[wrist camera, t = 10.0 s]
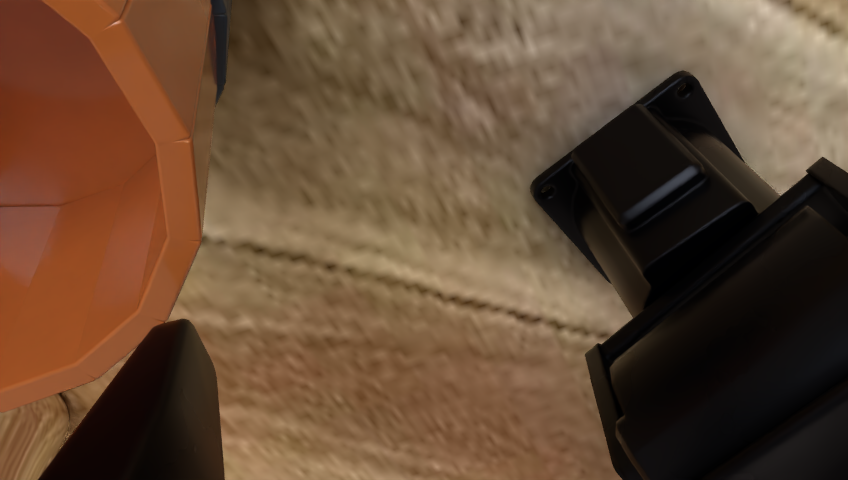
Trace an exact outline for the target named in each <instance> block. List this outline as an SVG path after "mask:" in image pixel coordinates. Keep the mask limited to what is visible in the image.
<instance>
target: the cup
mask: <svg viewBox="0 0 848 480" xmlns="http://www.w3.org/2000/svg"><path fill="white" fill-rule="evenodd" d="M216 93H217V69H216V30H215V23H214V16H213V9H212V5H211V1H210V0H0V412H1V413H4V412H7V411H10V410H13V409H16V408H18V407H21V406H24V405H27V404H30V403H33V402H35V401H38V400H41V399H44V398H47V397H50V396H53V395H55V394H58V393H61V392H64V391H67V390H70V389H72V388H75V387H78V386H81V385H84V384H87V383H90V382H92V381H94V380H95V379H98V378H100V377H101V376H102V375H103V374H104V373H106V372H107V371H108V370H109V369H110V368H112V367H113V366H114V365H115V364H117V363H118V362H119V361H120V360H121V359H123V358H124V357H125V356H126V355H127V354H129V353H130V352H131V351H132V350H133V349H135V348H136V347H137V346H138V345H139V344H140V343H141V342H142V340H143V339H144V338H145V336H146V335H147V334H148V332H149V331H150V330H151V329H152V328H153V327H154V326H156V325H159V324H163V323H165V321H167V319H168V318H169V316H170V314H171V312H172V309H173V307H174V305H175V302H176V300H177V298H178V296H179V293H180V291H181V289H182V286H183V284H184V282H185V279H186V277H187V275H188V273H189V270H190V268H191V266H192V263H193V261H194V259H195V257H196V254H197V252H198V250H199V247H200V245H201V242H202V235H203V225H204V214H205V204H206V194H207V184H208V174H209V164H210V154H211V143H212V133H213V123H214V113H215V103H216Z"/></svg>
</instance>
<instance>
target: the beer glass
mask: <svg viewBox="0 0 848 480" xmlns="http://www.w3.org/2000/svg"><path fill="white" fill-rule="evenodd" d="M68 427H69V413H68V409H67V406H66V404H65V402H64V400H63V399H62V397H61V396H60V395H59V393H58V394H55V395H53V396H50V397H47V398H44V399H41V400H38V401H35V402H33V403H30V404H27V405H24V406H21V407H18V408H16V409H13V410H10V411H7V412H4V413H1V412H0V480H38V478H39V477H40V476H41V474H42V473H43V472H44V470H45V469H46V468H47V466H48V465H49V464H50V462H51V461H52V460H53V458H54V457H55V456H56V454H57V453H58V452H59V450H60V448H61V446H62V443H63V441H64V439H65V437H66V434H67V431H68Z"/></svg>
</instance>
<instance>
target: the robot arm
mask: <svg viewBox="0 0 848 480" xmlns="http://www.w3.org/2000/svg"><path fill="white" fill-rule="evenodd" d="M685 83H686V86H685V88H684V89H683V90H682V91H680V92H677V91H678V88H679V87H680V86H681V85H683V84H685ZM806 172H807V173H808V174H807V175H806V176H804V177H803V178H802V179H801V180H800V181H798V182H797V183H796V184H795V185H793V186H792V187H791V188H790V189H789V190H787V191H786V192H785V193H784V194H783V195H781V196H780V195H779V194H778V193H777V192H776V191H775V190H773V189H772V188H771V187H770V186H769V185H768V184H767V183H766V182H765V181H764V180H763V179H761V178H760V177H759V176H758V175H757V174H756V173H755V172H754V171H753V170H752V169H751V168H749V167H748V166H747V165H746V164H745V162H744V161H743V159H742V157H741V155H740V154H739V152H738V150H737V148H736V147H735V145H734V143H733V141H732V139H731V138H730V136H729V134H728V132H727V131H726V129H725V127H724V125H723V124H722V122H721V120H720V118H719V117H718V115H717V113H716V111H715V109H714V108H713V106H712V104H711V102H710V101H709V99H708V97H707V95H706V94H705V92H704V90H703V88H702V87H701V85H700V83H699V81H698V80H697V79H696V78H695V77H694V76H693V75H691V74H690V73H689V72H686V71H680V72H677V73H675V74H673V75H672V76H671V77H669V78H668V79H667V80H665V81H664V82H663V83H661V84H660V85H659V86H657V87H656V88H655V89H653V90H652V91H651V92H649V93H648V94H647V95H645V96H644V97H643V98H641V99H640V100H639V101H637V102H636V103H635V104H633V105H632V106H630V107H629V108H628V109H626V110H625V111H624V112H622V113H621V114H620V115H618V116H617V117H616V118H614V119H613V120H612V121H611V122H609V123H608V124H607V125H605V126H604V127H603V128H601V129H600V130H599V131H597V132H596V133H595V134H593V135H592V136H591V137H589V138H588V139H587V140H585V141H584V142H583V143H581V144H580V145H579V146H577V147H576V148H575V149H574V150H572V151H571V152H570V153H568V154H567V155H566V156H564V157H563V158H562V159H560V160H559V161H558V162H556V163H555V164H554V165H553V166H551V167H550V168H549V169H547V170H546V171H545V172H543V173H542V174H541V175H539V176H538V177H537V178H536V179H535V180H534V181H533V182H532V184H531V186H530V191H531V193H532V195H533V197H534V199H535V200H536V202H537V203H538V204H539V205H540V206H541V207H542V208H543V210H544V211H545V212H546V213H547V214H548V215H549V216H550V217H551V218H552V220H553V221H554V222H555V223H556V224H557V225H558V226H559V227H560V229H561V230H562V231H563V232H564V233H565V234H566V235H567V236H568V237H569V239H570V240H571V241H572V242H573V243H574V244H575V245H576V246H577V248H578V249H579V250H580V251H581V252H582V253H583V254H584V255H585V256H586V258H587V259H588V260H589V261H590V262H591V263H592V264H593V265H594V267H595V268H596V269H597V270H598V271H599V272H600V273H601V274H602V275H603V277H604V278H605V279H606V280H607V281H608V282H609V283H611V284H612V285H613V286H614V288H615V290H616V291H617V293H618V294H619V296H620V298H621V299H622V301H623V302H624V304H625V306H626V307H627V309H628V310H629V312H630V314H631V315H632V317H633V319H632V320H630V321H629V322H628V323H627V324H626V325H624V326H623V327H622V328H621V329H619V330H618V331H617V332H616V333H615V334H613V335H612V336H611V337H610V338H609V339H607V340H606V341H605V342H604V343H603V344H599V343H598V344H596V345H595V346H594V347H593V348H592V349H590V350H589V351H588V352H587V353H586V354H585V357H586V361H587V365H588V369H589V373H590V379H591V383H592V387H593V391H594V394H595V398H596V402H597V406H598V410H599V414H600V418H601V422H602V425H603V429H604V433H605V437H606V441H607V445H608V449H609V453H610V456H611V460H612V464H613V467H614V469H615V470H616V472H617V473H618V475H619V476H620V477H621V478H622V479H623V480H848V173H847V172H846V171H844V170H842V169H841V168H839V167H838V166H836V165H835V164H833V163H832V162H830V161H829V160H827V159H825V158H824V157H822V158H820V159H819V160H818V161H817V162H816V163H814V164H813V165H812V166H811V167H810V168H808V169H807V170H806ZM547 186H550V188H549V189H548V191H546V192H541V190H542V189H543V188H545V187H547ZM38 480H225V478H224V464H223V451H222V438H221V426H220V413H219V400H218V388H217V377H216V372H215V368H214V365H213V363H212V360H211V358H210V356H209V354H208V352H207V350H206V349H205V347H204V345H203V343H202V341H201V339H200V337H199V335H198V333H197V331H196V329H195V327H194V325H193V324H192V323H191V322H190V321H189V320H187V319H179V320H175V321H171V322H167V323H163V324H159V325H156V326H154V327H153V328H152V329H151V330H150V331H149V332H148V334H147V335H146V336H145V338H144V339H143V340H142V342H141V343H140V344H139V346H138V347H137V348H136V350H135V351H134V352H133V354H132V355H131V356H130V358H129V359H128V360H127V362H126V363H125V364H124V366H123V367H122V368H121V370H120V371H119V372H118V374H117V375H116V376H115V378H114V379H113V380H112V382H111V383H110V384H109V385H108V387H107V388H106V389H105V391H104V392H103V393H102V395H101V396H100V397H99V399H98V400H97V401H96V403H95V404H94V405H93V407H92V408H91V409H90V411H89V412H88V413H87V415H86V416H85V417H84V419H83V420H82V421H81V423H80V424H79V425H78V427H77V428H76V429H75V431H74V432H73V433H72V435H71V436H70V437H69V439H68V440H67V441H66V443H65V444H64V445H63V447H62V448H61V449H60V451H59V452H58V453H57V454H56V456H55V457H54V458H53V460H52V461H51V462H50V464H49V465H48V466H47V468H46V469H45V470H44V472H43V473H42V474H41V476H40V477H39V478H38Z"/></svg>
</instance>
